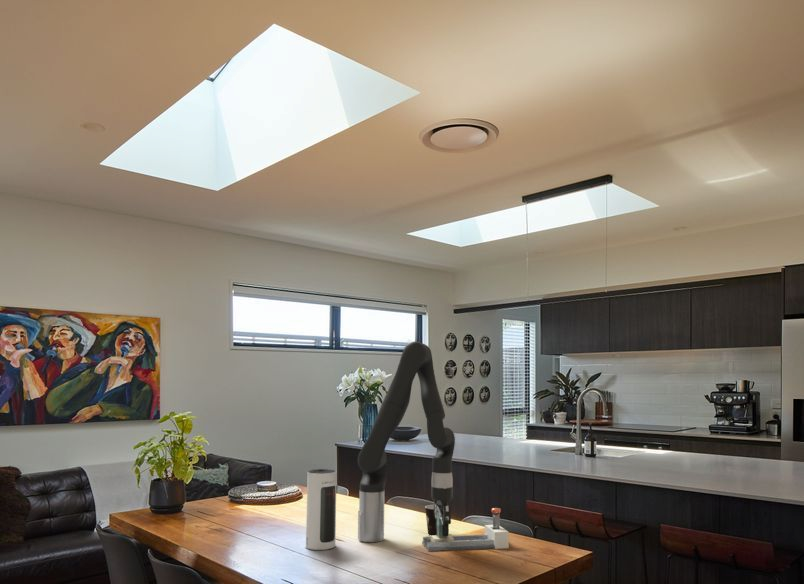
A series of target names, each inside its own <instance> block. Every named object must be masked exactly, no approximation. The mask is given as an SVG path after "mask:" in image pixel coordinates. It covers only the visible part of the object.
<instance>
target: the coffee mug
mask: <svg viewBox="0 0 804 584" xmlns="http://www.w3.org/2000/svg"><path fill="white" fill-rule="evenodd" d="M424 509H425V518H426V527H427V528H426V529H427V535H428V534H429V535H428V536H430V535H437V530H436V519H435V516H434V504H428V505H425V506H424Z"/></svg>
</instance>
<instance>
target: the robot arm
mask: <svg viewBox="0 0 804 584" xmlns="http://www.w3.org/2000/svg"><path fill="white" fill-rule="evenodd" d="M433 361H434V360H433V353H432V350H431V348H430V347H429V346H428V345H427V344H425V343H423V342H421V341H420V342H419V341H411V342H409V343H407V344H406V345H405V346H404V349H403V351H402V354H401V356H400V359H399V363H398V365H397V369H396V371H395V374H394V376H393V379H392V381H391V383H390V384H389V387H388V390H387V392H386V394H385V396H384V398H383V401H382V403H381V405H380V407H379V410H378V413H377V415H376V418H375V421H374V423H373V425H372V429H371V431H370V433H369V435H368V437H367V439H366V440H365V442H364V444H363V446H362V448H361V450H360V451H359V453H358V456H357V465H358V467H359V469H360V470H361V471H362V477H361V479H360V482H359V495H358V497H359V498H358V499H359V500H358V501H359V502H358V503H359V507H358V508H359V510H358V512H357V516H358V517H357V539H358V540H359V542H366V543H376V542H377V543H378V542H382V541H384V539H385V487H386V482H387V467H388V465H387V464H388V460H387V453H386V451H385V449H386V447H387V444H388V442H389V440H390V438H391V437H392V435H393V434H394V433H395V431H396V430H397V429H398V427H399V426H400V424H401V422H402V420H403V418H404V416H405V413H406V412H407V410H408V407H409V405H410V401H411V396H412V395H411V393H412V386H413V381H414V379H415V377H416V375H417V377H418V381H419V384H420V385H419V386H420V387H419V388H420V397H421V398H420V399H421V405H422V408H423V412H424V415H425V418H426V430H427V438H428V442H429V443H430V444H431V446H432V447H433V448H434V449H436V453H435V455H433V457H432V459H431V460H432V461H431V471H432V472H431V500H433V505H434V516H435V519H436V530H437V512H438V513H439V517H440V519H441V521H442V535H443V536H448V535H450V534H449V531H450V530H449V527H450V526H449V525H451V524H452V518H451V517H452V514H451V511H452V509H451V505H450V504H448V501H452V500H453V497H454V496H453V494H454V492H453V491H454V489H453V488H454V486H453V481H454V480H453V466H452V465H453V463H452V462H453V461H452V460H453V457H454V455H453V454H454V451H455V445H456V437H455V434H454V431H453V430H452V429H451V428H449V427H444V426H445V425H444V419H445V417H446V412H445V409H444V405H443V402H442V399H441V396H440V392H439V388H438V385H437V379H436V376H435V370H434V362H433ZM445 519H447V520H445Z"/></svg>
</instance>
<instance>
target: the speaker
mask: <svg viewBox="0 0 804 584" xmlns="http://www.w3.org/2000/svg"><path fill="white" fill-rule="evenodd" d="M306 476H307V477H306V479H307V480H306V481H307V482H306V483H307V484H306V485H307V486H306V487H307V488H306V521H305V522H306V525H305V526H306V527H305V528H306V530H305V548H306V549H308V550H310V551H327V550H332V549H333V548H335V547H336V535H337V534H336V530H337V528H336V527H337V525H336V524H337V523H336V521H337V517H336V516H337V470H336V469H331V468H328V469H327V468H316V469H310V470H308V471H307V475H306Z"/></svg>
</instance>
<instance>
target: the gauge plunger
mask: <svg viewBox="0 0 804 584" xmlns="http://www.w3.org/2000/svg"><path fill="white" fill-rule="evenodd" d="M491 513H492V525H493V530H496V529H500V526H501V525H500V523H501V522H500V521H501V520H500V518H501V517H500V513H501V508H499V507H492V508H491Z"/></svg>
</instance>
